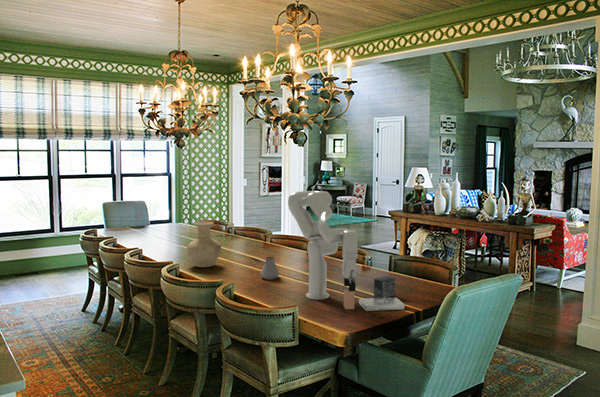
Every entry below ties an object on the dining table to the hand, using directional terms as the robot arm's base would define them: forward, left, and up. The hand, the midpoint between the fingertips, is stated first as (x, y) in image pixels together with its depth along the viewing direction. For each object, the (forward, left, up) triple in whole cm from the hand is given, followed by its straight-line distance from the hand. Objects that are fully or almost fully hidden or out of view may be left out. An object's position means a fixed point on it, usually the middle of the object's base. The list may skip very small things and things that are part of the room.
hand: (349, 288), depth 246 cm
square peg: (0, 0, -10) cm, 10 cm away
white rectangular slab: (0, +17, -10) cm, 20 cm away
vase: (-100, -75, -10) cm, 126 cm away
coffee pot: (-61, -38, -10) cm, 73 cm away
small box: (-16, +24, -10) cm, 31 cm away
